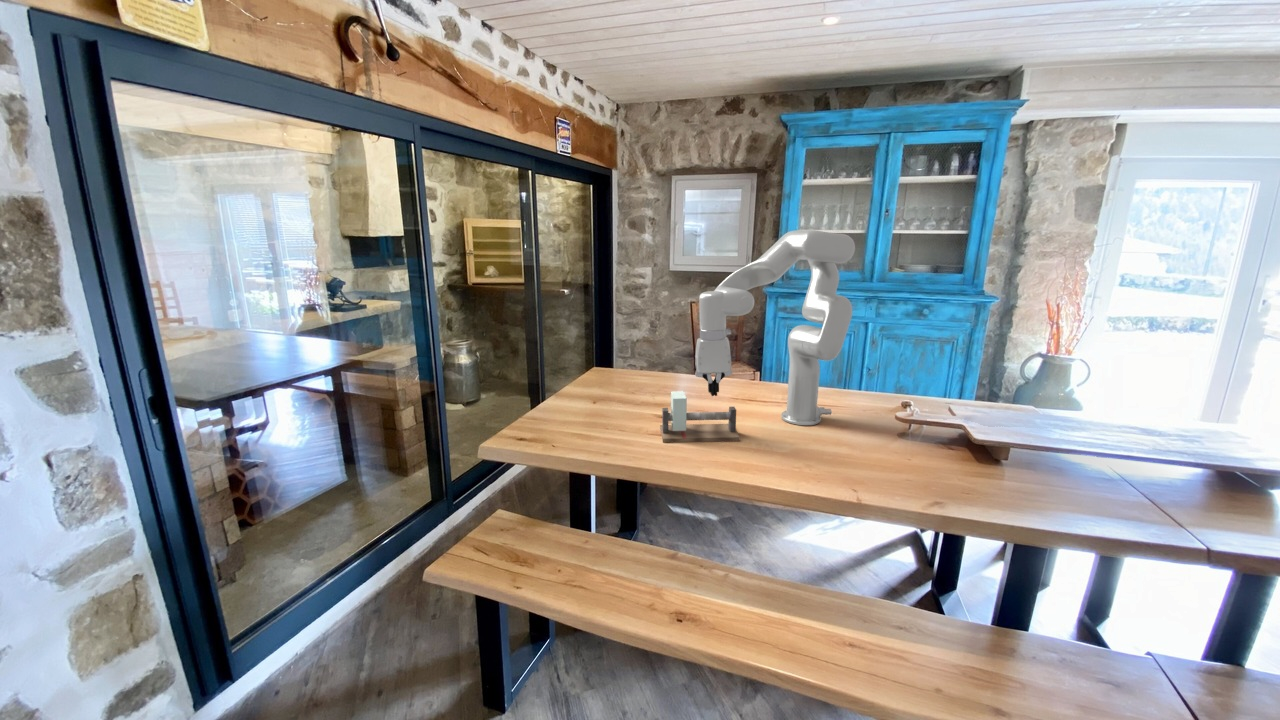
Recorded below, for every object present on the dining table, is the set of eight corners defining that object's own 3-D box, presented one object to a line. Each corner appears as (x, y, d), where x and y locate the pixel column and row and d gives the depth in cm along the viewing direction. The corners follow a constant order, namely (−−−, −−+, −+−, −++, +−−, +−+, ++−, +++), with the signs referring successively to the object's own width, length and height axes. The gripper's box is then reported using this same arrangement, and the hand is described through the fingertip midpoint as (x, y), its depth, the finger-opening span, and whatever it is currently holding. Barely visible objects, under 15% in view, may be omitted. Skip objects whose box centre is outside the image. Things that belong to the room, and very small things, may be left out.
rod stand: (731, 427, 160) (732, 402, 158) (739, 440, 149) (740, 414, 147) (660, 428, 160) (660, 403, 158) (662, 442, 149) (662, 415, 147)
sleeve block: (683, 422, 157) (684, 391, 155) (686, 430, 150) (686, 398, 148) (670, 422, 157) (671, 391, 155) (672, 430, 150) (673, 398, 148)
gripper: (735, 330, 148) (735, 389, 153) (685, 333, 148) (687, 391, 153) (741, 335, 141) (741, 397, 146) (688, 338, 141) (690, 400, 146)
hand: (713, 394), depth 149 cm, fingers closed
